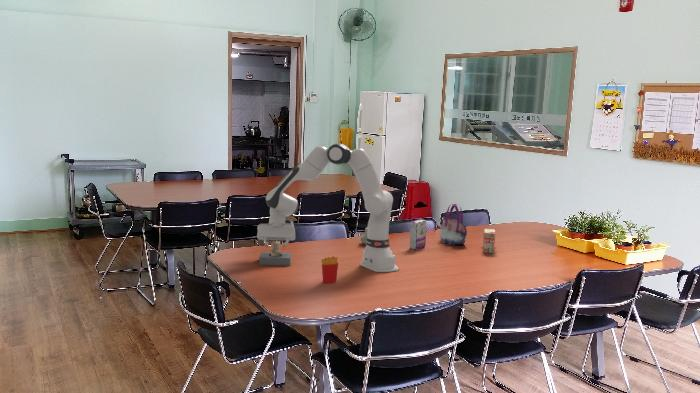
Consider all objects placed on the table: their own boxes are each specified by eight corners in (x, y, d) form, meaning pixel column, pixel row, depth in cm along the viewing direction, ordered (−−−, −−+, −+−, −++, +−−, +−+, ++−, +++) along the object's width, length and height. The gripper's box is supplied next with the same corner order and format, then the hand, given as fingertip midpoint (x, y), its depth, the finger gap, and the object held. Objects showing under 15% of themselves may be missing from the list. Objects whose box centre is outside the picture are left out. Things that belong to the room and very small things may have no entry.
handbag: (434, 240, 376) (436, 202, 373) (445, 239, 382) (448, 201, 379) (459, 247, 359) (462, 207, 356) (470, 245, 365) (473, 206, 362)
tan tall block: (279, 259, 311) (280, 241, 310) (279, 261, 308) (280, 242, 306) (271, 259, 311) (271, 241, 309) (270, 261, 307) (271, 242, 306)
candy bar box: (418, 245, 361) (419, 219, 359) (425, 246, 358) (427, 220, 356) (408, 248, 352) (410, 221, 350) (416, 249, 349) (417, 222, 347)
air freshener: (358, 244, 359) (359, 228, 357) (364, 241, 366) (365, 225, 365) (374, 246, 354) (375, 230, 352) (380, 244, 361) (381, 228, 360)
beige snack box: (482, 244, 370) (484, 225, 368) (493, 245, 369) (494, 226, 367) (482, 252, 349) (484, 232, 348) (493, 253, 348) (495, 233, 346)
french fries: (334, 279, 282) (335, 255, 281) (338, 281, 279) (339, 257, 277) (319, 281, 278) (320, 257, 276) (323, 284, 274) (324, 259, 273)
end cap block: (291, 259, 316) (291, 252, 315) (290, 265, 304) (290, 258, 303) (260, 259, 315) (261, 251, 314) (259, 265, 303) (259, 257, 302)
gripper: (257, 220, 314) (255, 242, 306) (295, 221, 316) (294, 243, 308) (257, 226, 319) (256, 248, 311) (295, 227, 321) (294, 249, 313)
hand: (275, 246), depth 309 cm, fingers open, 8 cm apart
